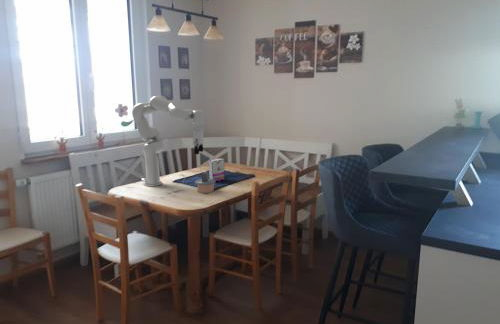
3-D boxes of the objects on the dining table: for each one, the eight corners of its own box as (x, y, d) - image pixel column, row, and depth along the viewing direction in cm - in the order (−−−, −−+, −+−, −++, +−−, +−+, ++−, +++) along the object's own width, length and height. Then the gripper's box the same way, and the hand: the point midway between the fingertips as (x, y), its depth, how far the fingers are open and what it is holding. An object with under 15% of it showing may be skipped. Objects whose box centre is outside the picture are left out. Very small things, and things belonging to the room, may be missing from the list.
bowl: (195, 192, 270) (195, 184, 269) (200, 188, 281) (199, 180, 279) (211, 193, 268) (211, 184, 267) (215, 188, 279) (214, 180, 278)
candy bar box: (221, 178, 306) (220, 158, 302) (225, 180, 302) (224, 159, 298) (209, 181, 299) (208, 160, 295) (212, 182, 295) (212, 161, 291)
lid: (192, 184, 267) (192, 174, 266) (198, 179, 281) (197, 170, 280) (212, 185, 265) (212, 175, 264) (217, 179, 279) (217, 170, 278)
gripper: (197, 126, 282) (197, 150, 285) (189, 129, 265) (189, 154, 269) (207, 126, 280) (207, 150, 284) (200, 130, 264) (200, 155, 268)
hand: (198, 152), depth 276 cm, fingers open, 9 cm apart
